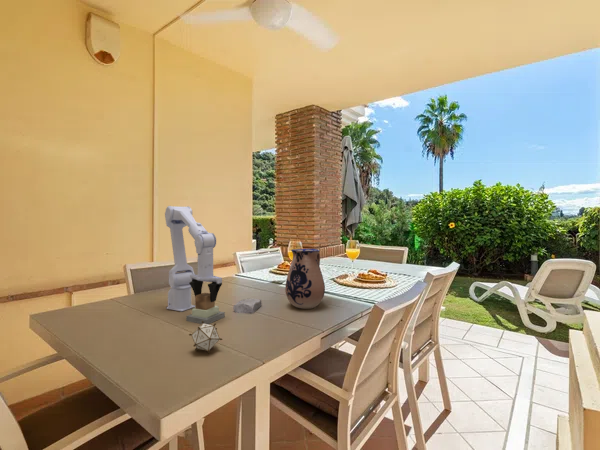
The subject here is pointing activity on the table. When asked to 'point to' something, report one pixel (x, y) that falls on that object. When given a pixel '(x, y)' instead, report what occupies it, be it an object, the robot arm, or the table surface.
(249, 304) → the stone block
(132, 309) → the table surface
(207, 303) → the walnut cube
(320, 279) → the ceramic pitcher
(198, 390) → the table surface
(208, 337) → the game die
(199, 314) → the sage block
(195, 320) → the grey square slab
